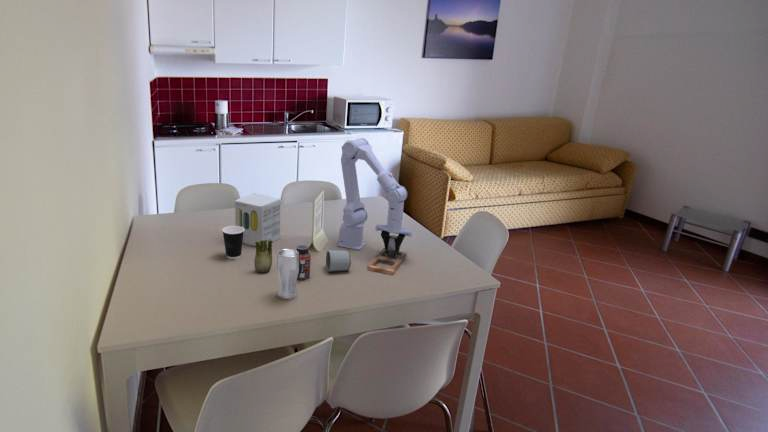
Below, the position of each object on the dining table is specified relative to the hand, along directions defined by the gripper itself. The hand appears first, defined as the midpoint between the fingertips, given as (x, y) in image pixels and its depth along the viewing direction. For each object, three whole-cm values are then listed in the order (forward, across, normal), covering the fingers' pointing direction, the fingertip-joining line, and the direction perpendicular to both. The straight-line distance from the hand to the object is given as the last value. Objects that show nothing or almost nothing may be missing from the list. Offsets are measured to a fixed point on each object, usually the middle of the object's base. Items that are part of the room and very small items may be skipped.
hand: (392, 250), depth 195 cm
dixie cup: (+4, +54, +27) cm, 60 cm away
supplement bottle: (+4, +24, +31) cm, 39 cm away
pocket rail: (+3, 0, +5) cm, 6 cm away
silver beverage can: (+4, +22, +45) cm, 50 cm away
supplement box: (+4, +55, +8) cm, 56 cm away
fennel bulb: (+4, +38, +33) cm, 50 cm away
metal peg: (+2, 0, 0) cm, 2 cm away
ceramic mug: (+4, +16, +19) cm, 25 cm away
